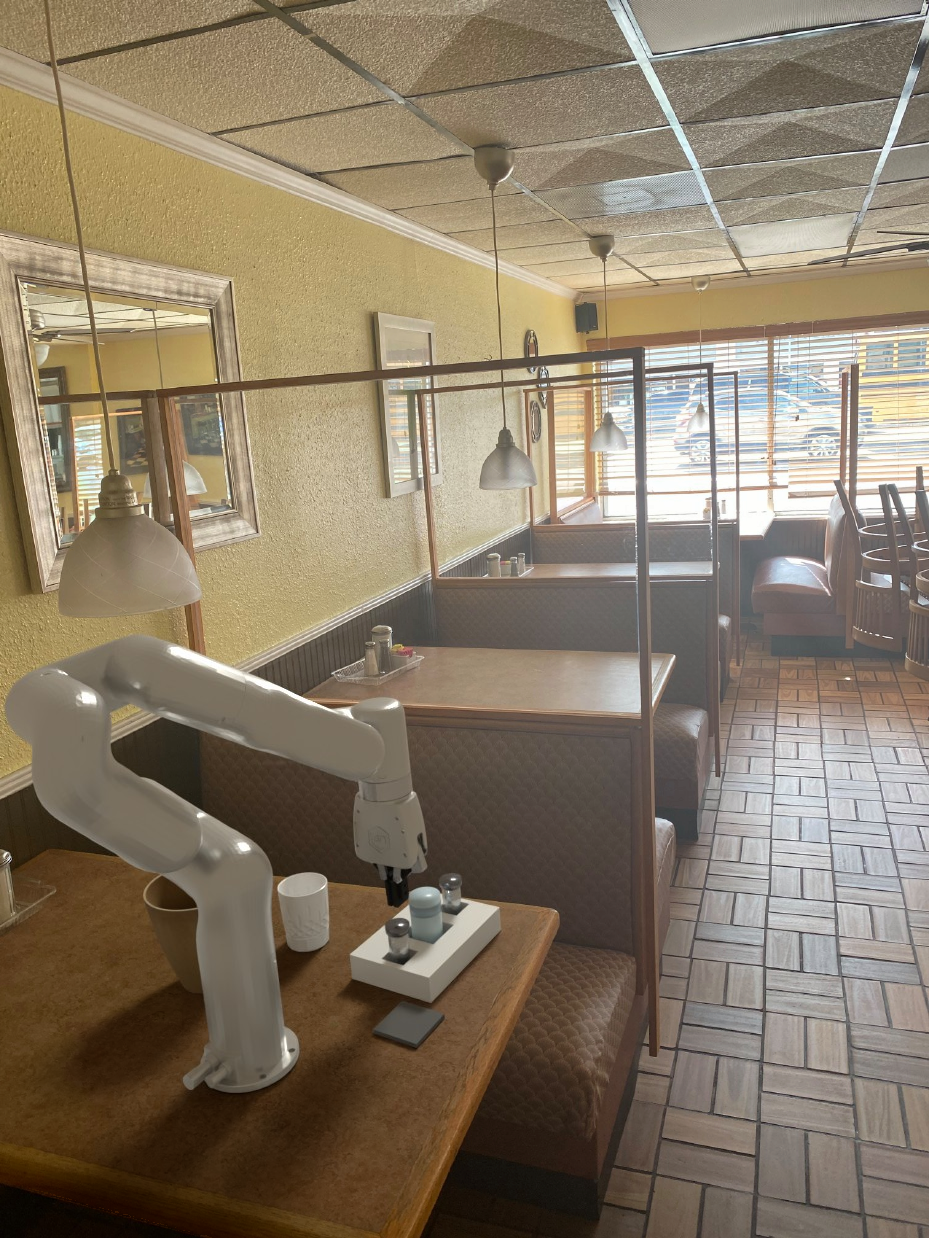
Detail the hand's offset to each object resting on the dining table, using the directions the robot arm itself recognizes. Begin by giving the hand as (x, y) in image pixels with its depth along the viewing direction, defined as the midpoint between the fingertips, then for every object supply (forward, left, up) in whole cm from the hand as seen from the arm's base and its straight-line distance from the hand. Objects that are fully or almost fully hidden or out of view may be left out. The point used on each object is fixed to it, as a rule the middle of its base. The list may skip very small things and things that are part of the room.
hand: (398, 902), depth 134 cm
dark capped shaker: (+14, 0, -9) cm, 17 cm away
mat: (-9, -7, -12) cm, 17 cm away
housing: (+7, 0, -12) cm, 14 cm away
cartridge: (+7, 0, -12) cm, 14 cm away
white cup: (+2, +20, -13) cm, 24 cm away
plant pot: (-13, +27, -13) cm, 33 cm away
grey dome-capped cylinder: (-1, 0, -9) cm, 9 cm away
